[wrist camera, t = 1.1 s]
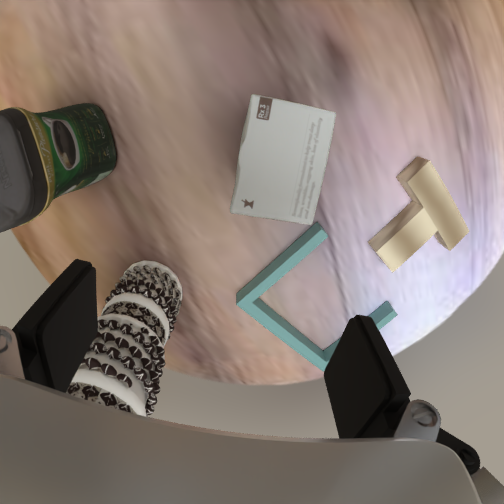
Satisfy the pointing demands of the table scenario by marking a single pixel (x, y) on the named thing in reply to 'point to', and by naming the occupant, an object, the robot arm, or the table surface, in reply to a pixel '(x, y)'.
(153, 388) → the decorative candle
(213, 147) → the table surface
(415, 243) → the tee block
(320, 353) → the dock
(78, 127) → the coffee jar
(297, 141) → the skincare box
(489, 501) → the robot arm
